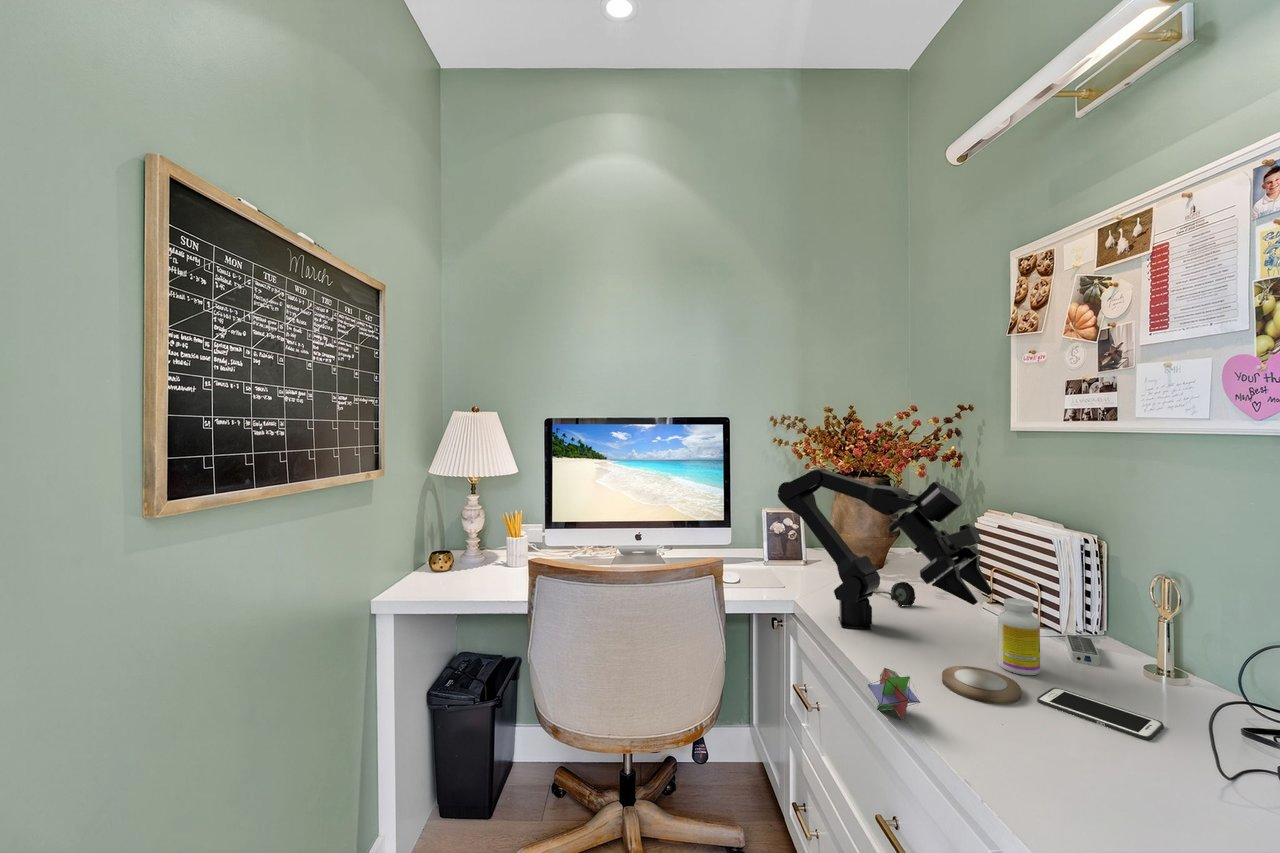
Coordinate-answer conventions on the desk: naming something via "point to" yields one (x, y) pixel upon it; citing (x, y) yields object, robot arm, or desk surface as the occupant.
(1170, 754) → the desk surface
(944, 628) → the desk surface
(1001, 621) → the supplement bottle
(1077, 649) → the multiport hub
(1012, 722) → the desk surface
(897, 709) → the geometric puzzle
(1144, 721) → the cell phone
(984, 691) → the brown rimmed plate
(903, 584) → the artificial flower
